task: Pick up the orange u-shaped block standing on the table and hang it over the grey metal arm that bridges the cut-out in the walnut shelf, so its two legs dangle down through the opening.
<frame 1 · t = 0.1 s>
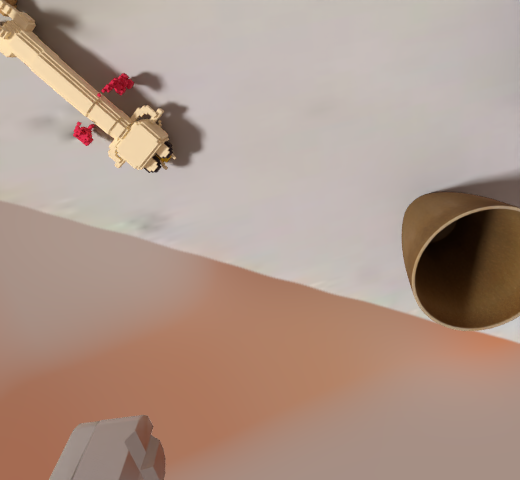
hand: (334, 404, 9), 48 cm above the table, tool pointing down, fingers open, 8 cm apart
plant pot: (429, 215, 59), on the table
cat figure: (93, 92, 52), on the table
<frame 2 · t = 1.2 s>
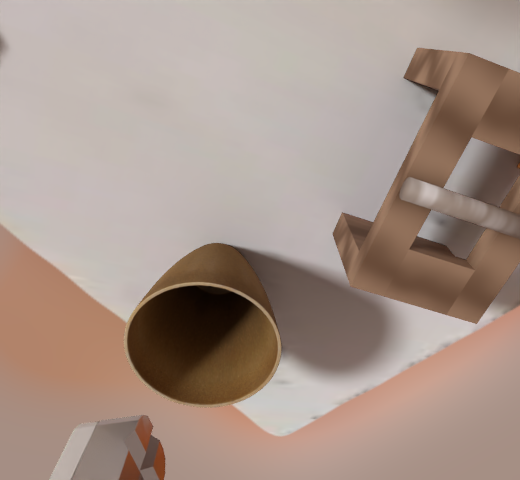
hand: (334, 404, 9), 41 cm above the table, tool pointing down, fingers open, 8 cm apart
plant pot: (218, 265, 54), on the table
hook shelf: (426, 169, 48), on the table
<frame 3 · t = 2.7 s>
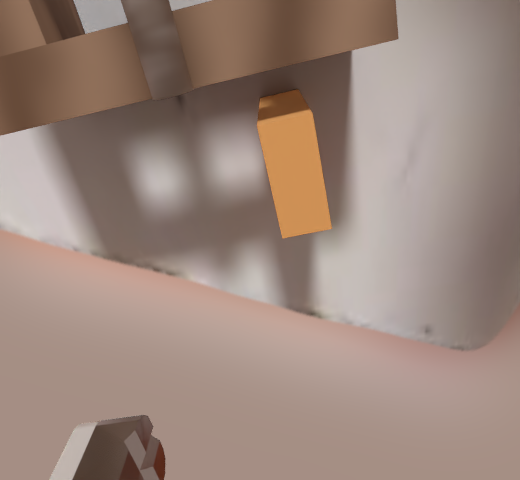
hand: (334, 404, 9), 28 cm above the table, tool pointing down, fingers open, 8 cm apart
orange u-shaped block: (287, 136, 34), on the table
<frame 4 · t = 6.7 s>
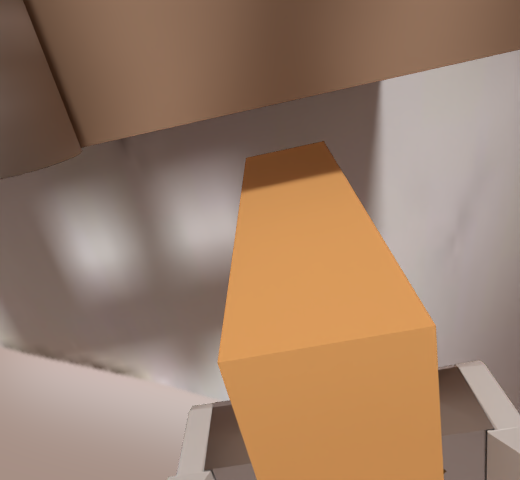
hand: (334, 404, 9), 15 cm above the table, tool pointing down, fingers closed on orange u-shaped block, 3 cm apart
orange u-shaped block: (300, 229, 17), point 6 cm above the table, touching gripper
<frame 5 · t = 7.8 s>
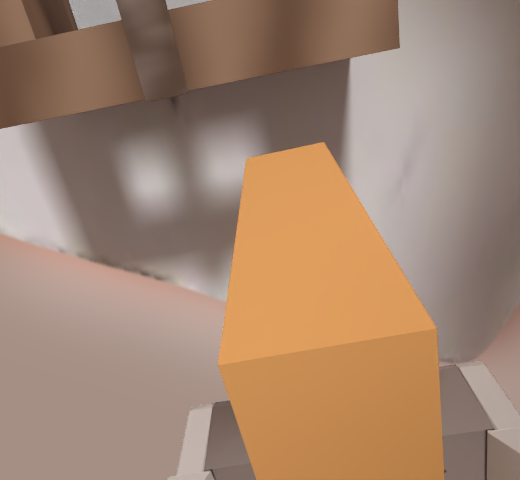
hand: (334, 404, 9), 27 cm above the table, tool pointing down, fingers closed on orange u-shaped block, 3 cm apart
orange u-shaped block: (300, 230, 17), point 18 cm above the table, touching gripper
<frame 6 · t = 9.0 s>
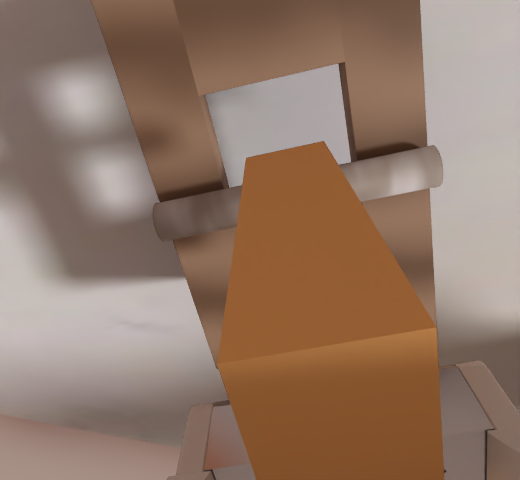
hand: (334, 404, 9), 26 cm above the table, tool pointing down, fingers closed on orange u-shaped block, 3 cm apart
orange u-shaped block: (300, 229, 17), point 17 cm above the table, touching gripper
hook shelf: (282, 139, 33), on the table
when the fingers open (15 cm above the table, at t = 11.6 s): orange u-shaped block stays where it is, resting on hook shelf.
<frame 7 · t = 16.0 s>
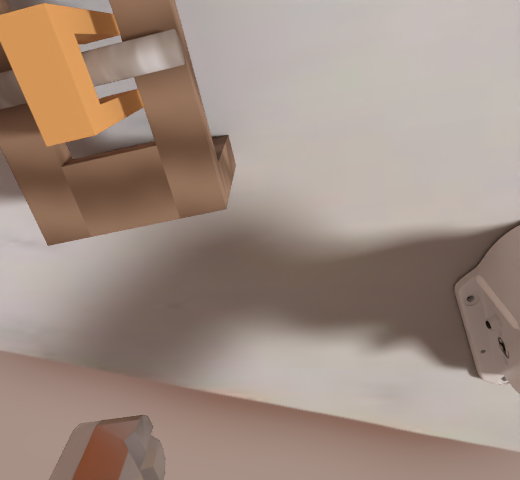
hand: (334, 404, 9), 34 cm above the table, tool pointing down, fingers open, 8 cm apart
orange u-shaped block: (112, 66, 33), point 5 cm above the table, touching hook shelf
hook shelf: (130, 63, 38), on the table
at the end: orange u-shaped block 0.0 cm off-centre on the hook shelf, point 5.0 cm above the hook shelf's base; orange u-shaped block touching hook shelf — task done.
